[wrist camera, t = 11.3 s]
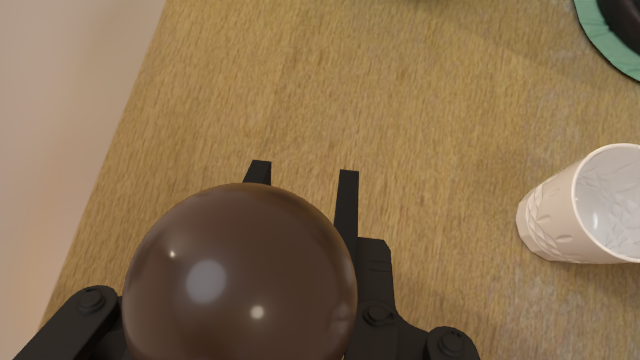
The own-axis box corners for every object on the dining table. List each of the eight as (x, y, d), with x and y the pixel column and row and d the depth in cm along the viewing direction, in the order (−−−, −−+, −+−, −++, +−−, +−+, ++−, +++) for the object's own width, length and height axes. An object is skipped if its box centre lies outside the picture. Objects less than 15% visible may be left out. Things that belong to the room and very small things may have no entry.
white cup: (571, 166, 39) (654, 126, 29) (616, 249, 37) (720, 236, 27) (492, 197, 38) (550, 167, 28) (534, 283, 36) (611, 281, 27)
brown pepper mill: (231, 326, 22) (-109, 474, 5) (265, 224, 24) (98, 38, 6) (335, 359, 22) (387, 659, 4) (363, 253, 23) (495, 146, 6)
